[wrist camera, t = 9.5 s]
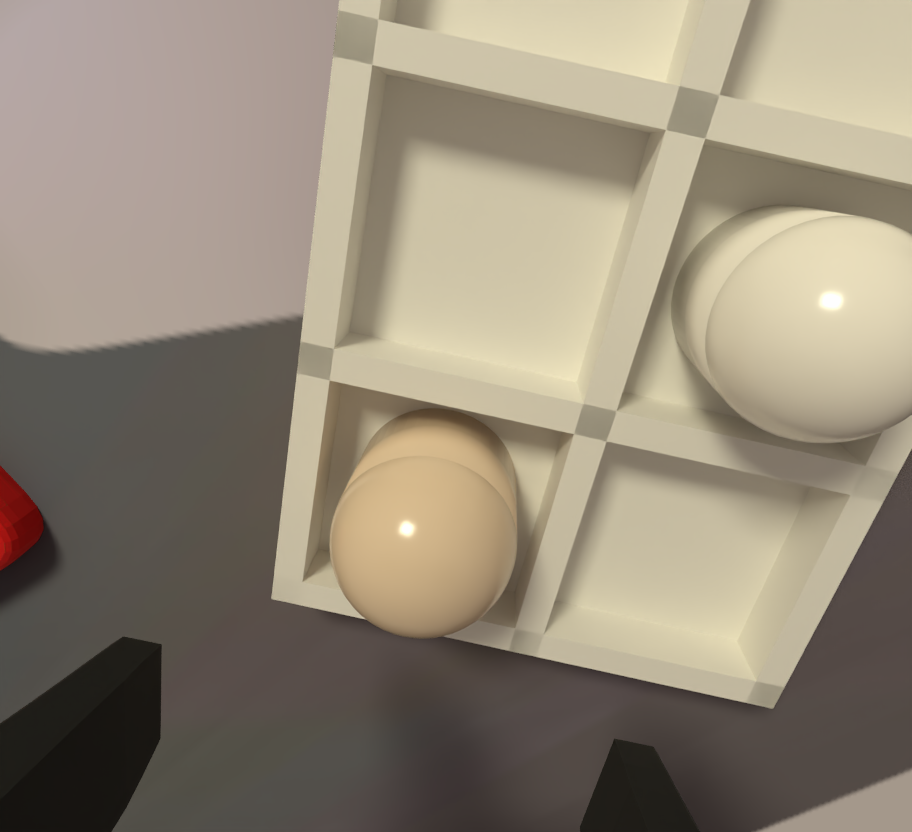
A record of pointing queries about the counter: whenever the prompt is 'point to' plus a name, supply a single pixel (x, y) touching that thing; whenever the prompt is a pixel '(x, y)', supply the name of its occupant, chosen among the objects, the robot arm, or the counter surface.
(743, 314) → the egg
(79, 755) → the robot arm
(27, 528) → the popsicle
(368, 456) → the egg
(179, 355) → the counter surface
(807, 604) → the egg box
